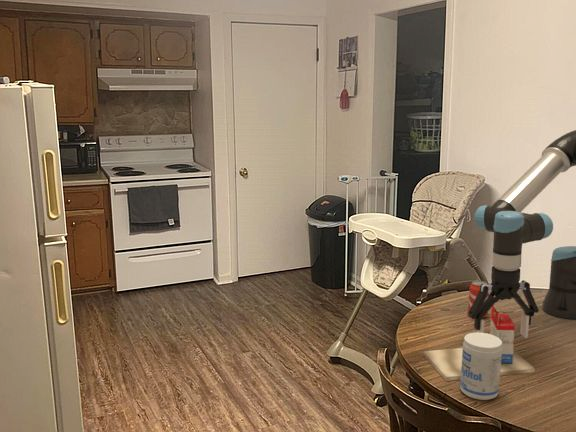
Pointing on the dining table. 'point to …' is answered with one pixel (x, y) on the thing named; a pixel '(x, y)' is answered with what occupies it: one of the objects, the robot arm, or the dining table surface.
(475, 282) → the beverage can
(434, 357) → the open book
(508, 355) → the ink box
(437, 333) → the dining table surface
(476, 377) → the supplement tub
